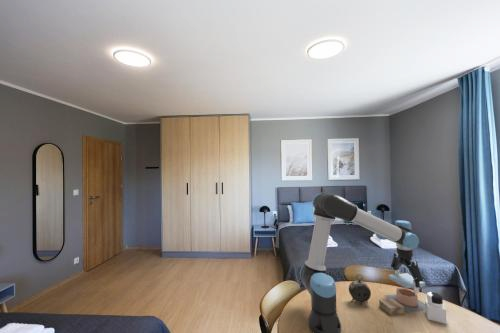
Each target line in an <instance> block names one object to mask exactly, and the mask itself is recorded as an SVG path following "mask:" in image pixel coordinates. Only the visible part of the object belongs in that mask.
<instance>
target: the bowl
mask: <svg viewBox="0 0 500 333" xmlns="http://www.w3.org/2000/svg"><path fill="white" fill-rule="evenodd" d="M395 292H396V293H395V294H396V296H397V301H398V302H399V303H401V304H402V305H405V306H408V307H417V306H418V300H419V299H418V293H414V291H413V289H411V288H404V287H399V288H396V291H395Z"/></svg>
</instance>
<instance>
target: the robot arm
mask: <svg viewBox="0 0 500 333" xmlns="http://www.w3.org/2000/svg"><path fill="white" fill-rule="evenodd" d="M312 206H313V208H314V209H313V216H314V217H315V220H314V224H313V225H314V226H313V232H312V236H311V242H310V247H309V251H308V256H307V257H308V259H307V260H305V261H304V263H303V266H302V267H301V268H300V271H299V278H300V280H301V284H302V285H303V286H304V287H305V289H306V291H307V292H308V293H309V295H310V302H311V303H310V304H311V310H310V313H309V316H308V320H307V321H308V322H307V323H308V328H309V330H310V331H311V332H312V333H313V332H314V333H342V324H341V320H340V318H339V315H338V312H337V311H338V310H337V287H336V286H337V285H336V282H335V279H334V278H333V277H332V276H331V275H329V274H327V273H326V272H327V267H326V266H325V260H326V255H327V250H328V242H329V238H330V232H331V227H332V222H333V221H335V220H336V219H339V220H342V221H345V222H346V223H347V222H348V223H351V222H352V223H354V224H356V225H358V226H360V227H363V228H365V229H366V230H369V231H371V232H373V233H375V236H376V238H377V239H378V240H388V241H390V242H392V243H395V244H396V245H395V246H396V252H394V253H393V257H392V261H391V264H390V267H391V268H392V269H393V274H401V272H400V267H401V266H402V265H403V266H405V267H406V268H407V269H408V270H409V273H410V275H411V276H412V277H413V279H414V280H413V288H412V291H414V293H417V294H419V293H420V288H421V287H420V283H419V282H421V281H422V282H424V279H423V276H422V274H421V270H420V268H419V265H418V261H417V260H413V259H412V258H413V256H414V252H413V249H416V248H418V246H419V243H420V239H419V237H418V236H417V234H414V233H412V224H411V222H410V221H408V220H403V219H402V220H395V221H394V224H392V223H390V222H387V221H386V220H384V219H382V218H379V217H377V216H376V215H373V214H371V213H369V212H367V211H365V210H363V209H361V208H359V207H358V205H357V204H355V203H354V202H351V201H350V200H348V199H346V198H344V197H342V196H341V195H339V194H335V193H334V194H333V193H329V192H319V193H318V194H316V195H314V197H313V199H312Z"/></svg>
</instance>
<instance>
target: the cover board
mask: <svg viewBox="0 0 500 333" xmlns="http://www.w3.org/2000/svg"><path fill="white" fill-rule="evenodd" d="M388 278H389V279H390V280H391V281H393V282H395V283H396V284H398V285H399V286H402V288H405V289H413V280H414V279H413V277H412V275H411V274H409V273H407V272H404V273H400V274H394V273H393V274H388ZM419 283H420V287H419V288H421V287H422V288H423V287H426V282H425V281H421V282H419Z"/></svg>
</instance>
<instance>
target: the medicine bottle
mask: <svg viewBox="0 0 500 333" xmlns="http://www.w3.org/2000/svg"><path fill="white" fill-rule="evenodd" d="M443 299H444V298H443V296H442V295H441V294H439V293H437V292H434V291H429V292H427V293H426V298H425V299H424V304H425V309H426V310H425V314H426V317H427V319H428V320H430V321H434V322H437V323H441V324H444V325H445V324H446V325H447V324H448V321H447V308H446V307H445V305H444V302H443Z"/></svg>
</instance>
